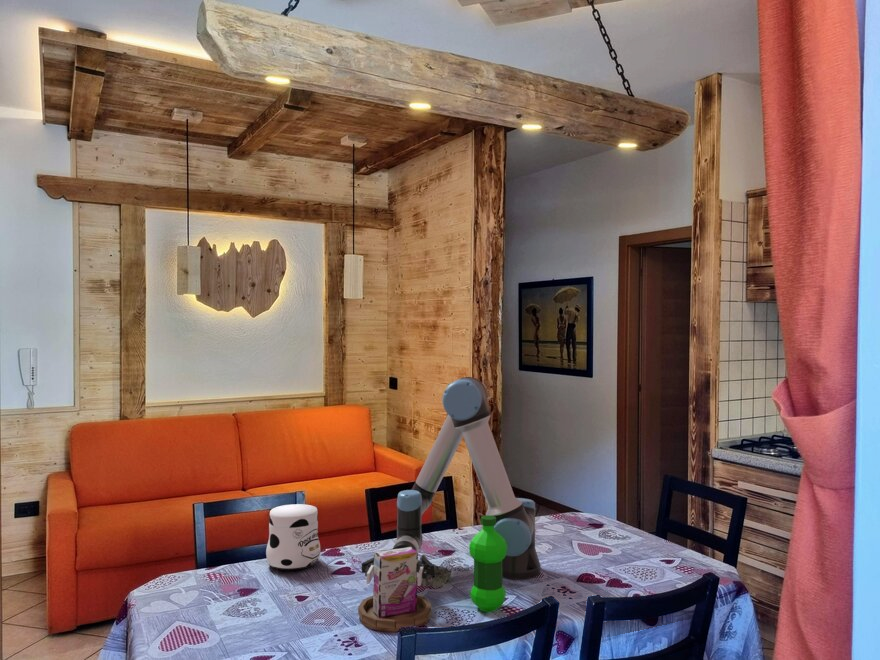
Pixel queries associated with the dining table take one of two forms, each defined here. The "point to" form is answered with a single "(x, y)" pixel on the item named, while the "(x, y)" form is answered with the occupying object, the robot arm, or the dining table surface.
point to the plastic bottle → (488, 566)
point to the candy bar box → (395, 582)
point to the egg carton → (438, 577)
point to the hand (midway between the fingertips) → (393, 579)
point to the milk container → (293, 537)
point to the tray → (394, 621)
